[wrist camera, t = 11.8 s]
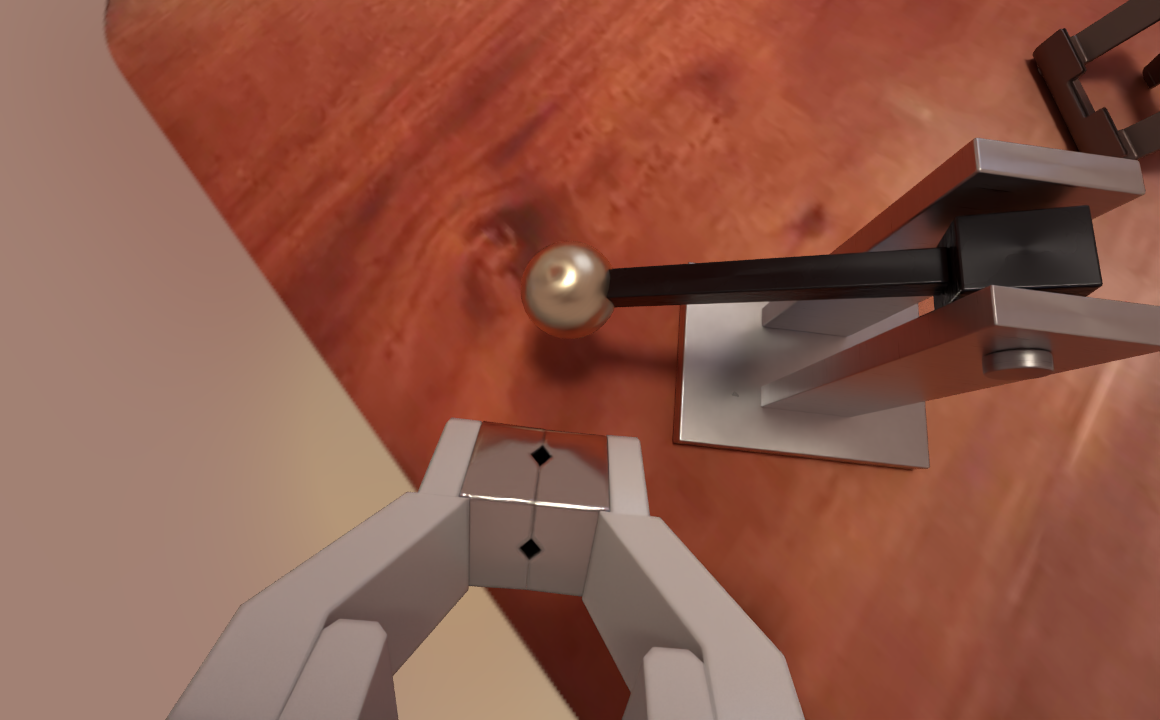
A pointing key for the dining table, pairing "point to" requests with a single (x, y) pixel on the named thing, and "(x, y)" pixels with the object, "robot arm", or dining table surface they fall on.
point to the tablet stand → (1066, 63)
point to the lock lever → (824, 271)
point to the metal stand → (905, 326)
